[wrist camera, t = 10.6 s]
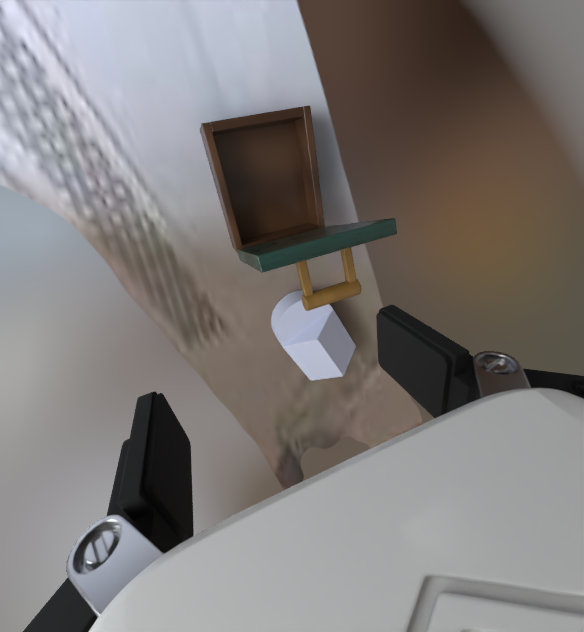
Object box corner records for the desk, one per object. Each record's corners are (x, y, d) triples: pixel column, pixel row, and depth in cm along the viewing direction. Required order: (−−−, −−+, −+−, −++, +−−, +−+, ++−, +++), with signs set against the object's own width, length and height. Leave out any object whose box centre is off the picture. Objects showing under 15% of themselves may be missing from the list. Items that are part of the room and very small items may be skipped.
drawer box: (199, 129, 30) (201, 123, 26) (297, 113, 32) (310, 105, 29) (232, 247, 36) (237, 253, 32) (313, 226, 38) (325, 230, 35)
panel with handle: (257, 255, 19) (277, 329, 21) (395, 217, 22) (403, 287, 23) (237, 249, 32) (250, 296, 33) (326, 226, 34) (335, 271, 36)
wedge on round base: (345, 336, 48) (309, 278, 41) (367, 357, 42) (329, 293, 35) (303, 368, 47) (259, 315, 41) (319, 394, 42) (271, 337, 35)
